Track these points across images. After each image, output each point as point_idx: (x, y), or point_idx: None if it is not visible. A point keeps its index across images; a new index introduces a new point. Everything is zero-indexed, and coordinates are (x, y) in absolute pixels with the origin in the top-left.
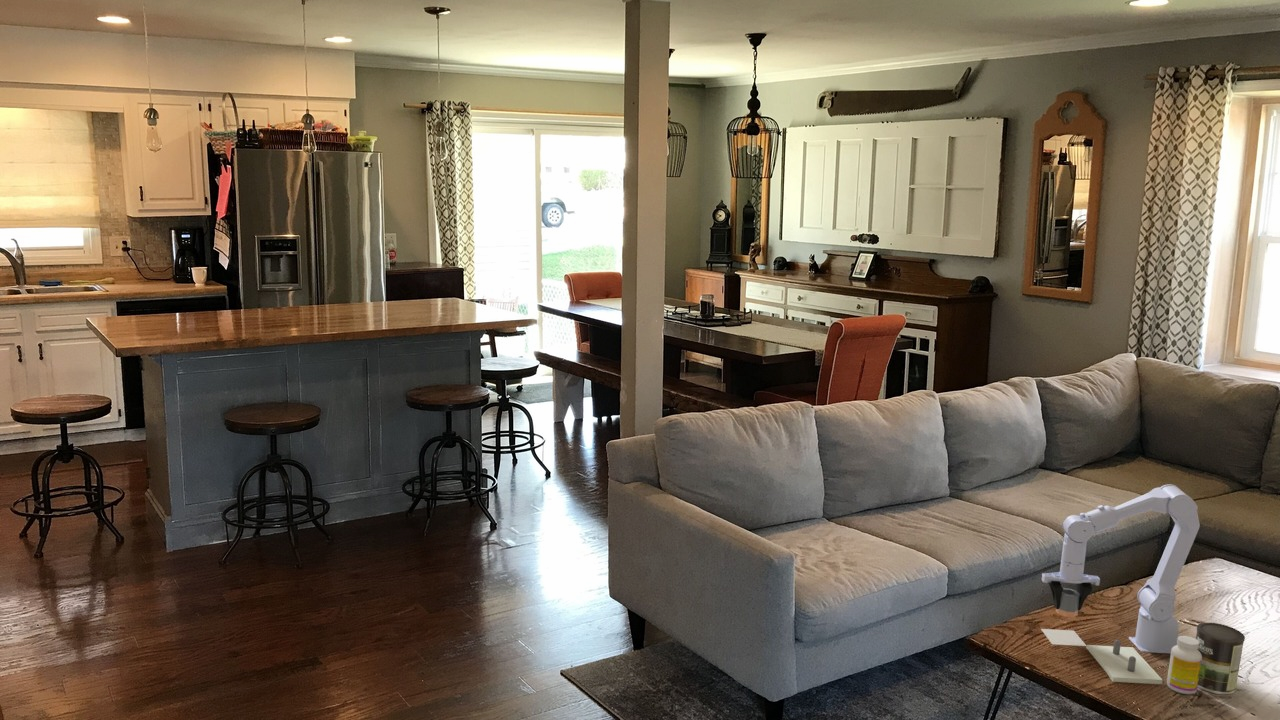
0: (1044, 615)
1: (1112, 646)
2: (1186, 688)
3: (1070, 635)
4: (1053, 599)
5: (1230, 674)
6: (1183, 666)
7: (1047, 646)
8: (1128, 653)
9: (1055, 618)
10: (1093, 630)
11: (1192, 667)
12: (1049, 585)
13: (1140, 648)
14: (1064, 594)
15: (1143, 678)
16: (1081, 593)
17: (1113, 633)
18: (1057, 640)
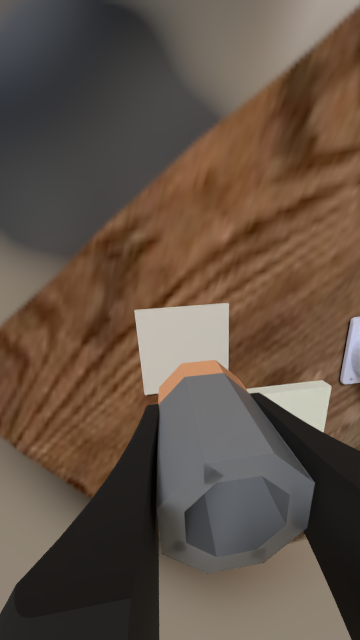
0: (174, 190)
1: (285, 392)
2: None
3: (208, 336)
4: (137, 430)
5: None
6: None
7: (132, 398)
8: (305, 416)
9: (204, 211)
10: (285, 282)
11: None
12: (63, 535)
13: (347, 374)
14: (184, 562)
15: None
16: (321, 550)
17: (330, 291)
18: (164, 371)
